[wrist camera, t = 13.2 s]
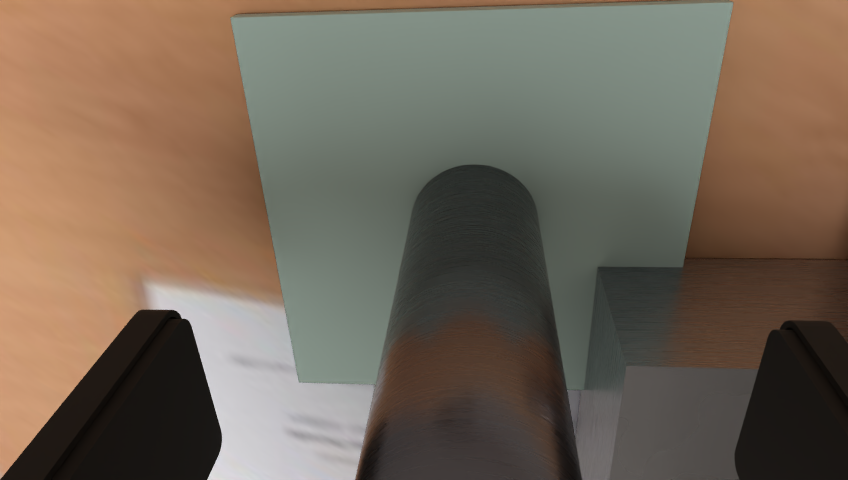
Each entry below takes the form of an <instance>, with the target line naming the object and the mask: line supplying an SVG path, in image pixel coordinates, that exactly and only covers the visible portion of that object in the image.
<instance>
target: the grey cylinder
mask: <svg viewBox="0 0 848 480" xmlns="http://www.w3.org/2000/svg"><path fill="white" fill-rule="evenodd" d="M355 480H582V476H581V470H580V464H579V458H578V452H577V446H576V440H575V434H574V428H573V422H572V416H571V410H570V404H569V398H568V392H567V386H566V380H565V374H564V368H563V362H562V357H561V351H560V345H559V339H558V333H557V327H556V321H555V315H554V309H553V303H552V297H551V291H550V285H549V279H548V273H547V267H546V261H545V255H544V249H543V243H542V237H541V231H540V225H539V219H538V213H537V208H536V205H535V202H534V200H533V198H532V196H531V194H530V192H529V191H528V190H527V188H526V187H525V186H524V185H523V184H522V183H521V182H520V181H519V180H518V179H517V178H515V177H514V176H512V175H511V174H509V173H507V172H505V171H503V170H501V169H498V168H495V167H492V166H487V165H476V164H471V165H462V166H457V167H454V168H451V169H448V170H446V171H444V172H442V173H440V174H438V175H437V176H435V177H434V178H432V179H431V180H430V181H429V182H428V183H427V184H426V185H425V186H424V187H423V188H422V190H421V191H420V193H419V194H418V196H417V198H416V200H415V202H414V206H413V209H412V214H411V218H410V223H409V228H408V233H407V237H406V242H405V247H404V251H403V256H402V261H401V266H400V270H399V275H398V280H397V285H396V289H395V294H394V299H393V304H392V308H391V313H390V318H389V322H388V327H387V332H386V337H385V341H384V346H383V351H382V356H381V360H380V365H379V370H378V374H377V379H376V384H375V389H374V393H373V398H372V403H371V408H370V412H369V417H368V422H367V427H366V431H365V436H364V441H363V445H362V450H361V455H360V460H359V464H358V469H357V474H356V479H355Z"/></svg>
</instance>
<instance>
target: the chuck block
mask: <svg viewBox="0 0 848 480" xmlns="http://www.w3.org/2000/svg"><path fill="white" fill-rule="evenodd" d="M788 320H804V321H827V322H830V323H831V324H833V325H834V326H835V327H836V329H837V330H838V331H839V333H840V334H841V335H842V336H843V338H844V339H845V340H846V341H847V343H848V260H800V259H684V264H683V267H597V276H596V285H595V294H594V303H593V312H592V321H591V330H590V339H589V348H588V357H587V366H586V375H585V384H584V390H581V393H580V402H579V412H578V421H577V430H576V439H575V440H576V446H577V452H578V458H579V464H580V470H581V476H582V480H739V477H738V475H737V472H736V468H735V460H734V457H735V449H736V445H737V442H738V438H739V435H740V432H741V428H742V425H743V421H744V418H745V414H746V411H747V407H748V404H749V400H750V397H751V393H752V390H753V386H754V383H755V380H756V376H757V373H758V369H759V366H760V362H761V359H762V355H763V352H764V348H765V345H766V341H767V338H768V335H769V333H770V332H771V331H772V330H775V329H778V330H780V327H781V325H782V324H783V323H784V322H785V321H788Z"/></svg>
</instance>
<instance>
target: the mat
mask: <svg viewBox="0 0 848 480" xmlns="http://www.w3.org/2000/svg"><path fill="white" fill-rule="evenodd" d="M732 7H733V2H732V1H730V0H679V1H647V2H615V3H582V4H550V5H518V6H485V7H453V8H421V9H388V10H356V11H323V12H291V13H259V14H236V15H235V16H233V17H231V24H232V29H233V34H234V40H235V45H236V50H237V55H238V61H239V66H240V71H241V77H242V82H243V87H244V93H245V98H246V103H247V109H248V114H249V119H250V125H251V130H252V135H253V141H254V146H255V151H256V157H257V162H258V167H259V173H260V178H261V183H262V188H263V194H264V199H265V204H266V210H267V215H268V220H269V226H270V231H271V236H272V242H273V247H274V252H275V258H276V263H277V268H278V274H279V279H280V284H281V290H282V295H283V300H284V305H285V311H286V316H287V321H288V327H289V332H290V337H291V343H292V348H293V353H294V359H295V364H296V369H297V375H298V380H299V382H302V383H338V384H374V385H375V384H376V379H377V374H378V370H379V365H380V360H381V356H382V351H383V346H384V341H385V337H386V332H387V327H388V322H389V318H390V313H391V308H392V304H393V299H394V294H395V289H396V285H397V280H398V275H399V270H400V266H401V261H402V256H403V251H404V247H405V242H406V237H407V233H408V228H409V223H410V218H411V214H412V209H413V206H414V202H415V200H416V198H417V196H418V194H419V193H420V191H421V190H422V188H423V187H424V186H425V185H426V184H427V183H428V182H429V181H430V180H431V179H432V178H434V177H435V176H437V175H438V174H440V173H442V172H444V171H446V170H448V169H451V168H454V167H457V166H462V165H471V164H476V165H487V166H492V167H495V168H498V169H501V170H503V171H505V172H507V173H509V174H511V175H512V176H514V177H515V178H517V179H518V180H519V181H520V182H521V183H522V184H523V185H524V186H525V187H526V188H527V190H528V191H529V192H530V194H531V196H532V198H533V200H534V202H535V205H536V208H537V213H538V219H539V225H540V231H541V237H542V243H543V249H544V255H545V261H546V267H547V273H548V279H549V285H550V291H551V297H552V303H553V309H554V315H555V321H556V327H557V333H558V339H559V345H560V351H561V357H562V362H563V368H564V374H565V380H566V386H567V390H584V384H585V375H586V366H587V357H588V348H589V339H590V330H591V321H592V312H593V303H594V294H595V285H596V276H597V267H683V264H684V259H685V254H686V249H687V243H688V238H689V233H690V228H691V222H692V217H693V212H694V207H695V201H696V196H697V191H698V186H699V180H700V175H701V170H702V165H703V159H704V154H705V149H706V144H707V138H708V133H709V128H710V123H711V117H712V112H713V107H714V102H715V96H716V91H717V86H718V81H719V76H720V70H721V65H722V60H723V55H724V49H725V44H726V39H727V34H728V28H729V23H730V18H731V13H732Z"/></svg>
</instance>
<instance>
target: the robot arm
mask: <svg viewBox="0 0 848 480" xmlns="http://www.w3.org/2000/svg"><path fill="white" fill-rule="evenodd" d="M221 443H222V434H221V429H220V426H219V422H218V419H217V415H216V411H215V408H214V404H213V401H212V397H211V394H210V390H209V387H208V383H207V380H206V376H205V373H204V369H203V366H202V362H201V359H200V355H199V352H198V348H197V345H196V341H195V338H194V334H193V330H192V327H191V324H190V322H189V321H188V320H186V319H182V318H181V316H180V314H179V313H178V312H177V311H174V310H140V311H138V312H137V313H136V314H135V315H134V316H133V317H132V319H131V320H130V321H129V322H128V323H127V325H126V326H125V327H124V328H123V330H122V331H121V332H120V333H119V334H118V336H117V337H116V338H115V339H114V341H113V342H112V343H111V344H110V346H109V347H108V348H107V349H106V350H105V352H104V353H103V354H102V355H101V357H100V358H99V359H98V360H97V361H96V363H95V364H94V365H93V366H92V368H91V369H90V370H89V371H88V373H87V374H86V375H85V376H84V377H83V379H82V380H81V381H80V382H79V384H78V385H77V386H76V387H75V389H74V390H73V391H72V392H71V393H70V395H69V396H68V397H67V398H66V400H65V401H64V402H63V403H62V404H61V406H60V407H59V408H58V409H57V411H56V412H55V413H54V414H53V416H52V417H51V418H50V419H49V420H48V422H47V423H46V424H45V425H44V427H43V428H42V429H41V430H40V431H39V433H38V434H37V435H36V436H35V438H34V439H33V440H32V441H31V443H30V444H29V445H28V446H27V447H26V449H25V450H24V451H23V452H22V454H21V455H20V456H19V457H18V459H17V460H16V461H15V462H14V463H13V465H12V466H11V467H10V468H9V470H8V471H7V472H6V473H5V474H4V476H3V477H2V478H1V479H0V480H207V479H208V477H209V474H210V472H211V470H212V468H213V466H214V464H215V462H216V459H217V457H218V455H219V452H220V449H221ZM734 460H735V468H736V472H737V475H738V477H739V480H848V343H847V341H846V340H845V339H844V338H843V336H842V335H841V334H840V333H839V331H838V330H837V329H836V327H835V326H834V325H833V324H831V323H830V322H827V321H804V320H788V321H785V322H784V323H783V324H782V325H781V327H780V330H778V329H775V330H772V331H771V332H770V333H769V335H768V338H767V341H766V345H765V348H764V352H763V355H762V359H761V362H760V366H759V369H758V373H757V376H756V380H755V383H754V386H753V390H752V393H751V397H750V400H749V404H748V407H747V411H746V414H745V418H744V421H743V425H742V428H741V432H740V435H739V438H738V442H737V445H736V449H735V457H734Z"/></svg>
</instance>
